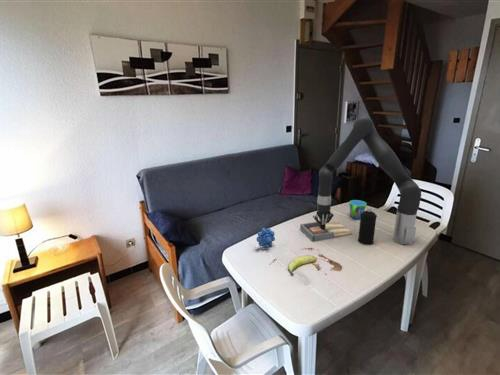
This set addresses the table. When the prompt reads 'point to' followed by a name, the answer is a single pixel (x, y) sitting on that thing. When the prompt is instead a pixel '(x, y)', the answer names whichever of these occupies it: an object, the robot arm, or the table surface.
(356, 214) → the snack cup
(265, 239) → the blue knobby ball
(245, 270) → the table surface
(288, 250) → the table surface
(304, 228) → the box
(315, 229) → the peach rectangular block
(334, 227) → the beige wooden board
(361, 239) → the aerosol can
